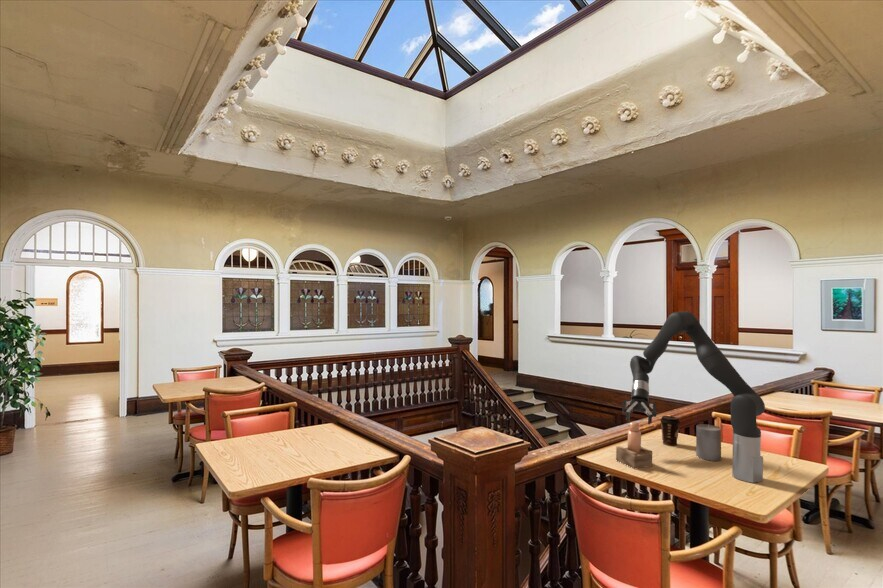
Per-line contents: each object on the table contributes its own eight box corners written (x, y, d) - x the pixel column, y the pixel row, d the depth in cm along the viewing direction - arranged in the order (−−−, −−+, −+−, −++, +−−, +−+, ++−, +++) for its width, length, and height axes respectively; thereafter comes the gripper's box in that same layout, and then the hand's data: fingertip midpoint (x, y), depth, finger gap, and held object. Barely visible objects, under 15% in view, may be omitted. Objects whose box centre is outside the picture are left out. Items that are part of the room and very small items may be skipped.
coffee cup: (675, 441, 227) (676, 415, 227) (682, 447, 219) (683, 420, 219) (657, 441, 228) (657, 414, 228) (663, 446, 220) (664, 419, 220)
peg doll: (643, 452, 194) (643, 424, 195) (634, 453, 192) (634, 425, 193) (634, 448, 199) (634, 421, 200) (624, 450, 197) (625, 422, 197)
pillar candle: (710, 453, 211) (710, 420, 211) (726, 461, 201) (726, 426, 201) (691, 454, 210) (691, 421, 210) (705, 461, 200) (705, 427, 200)
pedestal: (652, 465, 193) (652, 451, 193) (634, 468, 189) (634, 453, 189) (633, 458, 202) (633, 443, 202) (616, 460, 198) (616, 446, 198)
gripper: (623, 386, 216) (621, 415, 206) (656, 389, 210) (656, 419, 200) (624, 395, 221) (622, 424, 211) (657, 398, 215) (656, 429, 204)
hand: (638, 422), depth 205 cm, fingers open, 8 cm apart
